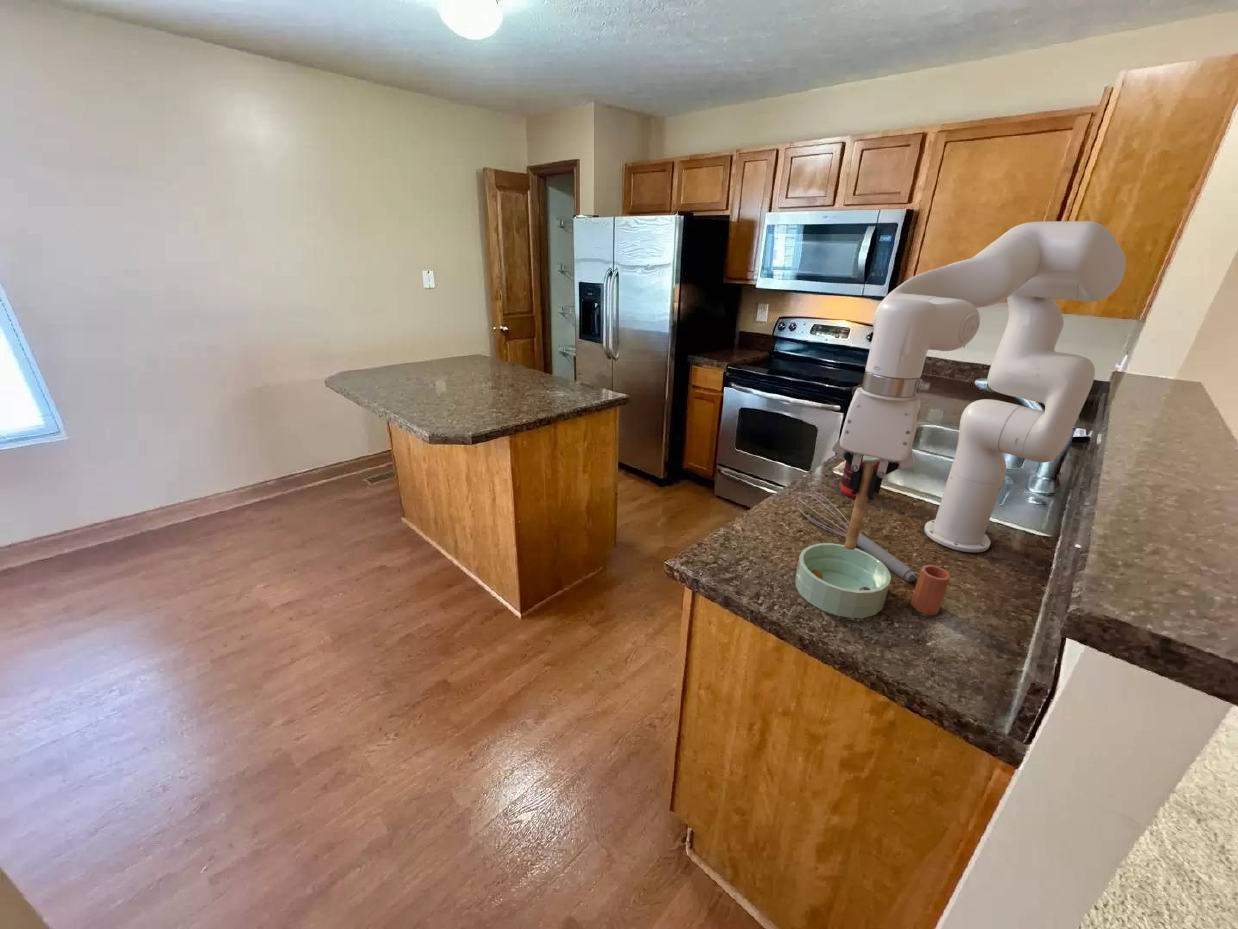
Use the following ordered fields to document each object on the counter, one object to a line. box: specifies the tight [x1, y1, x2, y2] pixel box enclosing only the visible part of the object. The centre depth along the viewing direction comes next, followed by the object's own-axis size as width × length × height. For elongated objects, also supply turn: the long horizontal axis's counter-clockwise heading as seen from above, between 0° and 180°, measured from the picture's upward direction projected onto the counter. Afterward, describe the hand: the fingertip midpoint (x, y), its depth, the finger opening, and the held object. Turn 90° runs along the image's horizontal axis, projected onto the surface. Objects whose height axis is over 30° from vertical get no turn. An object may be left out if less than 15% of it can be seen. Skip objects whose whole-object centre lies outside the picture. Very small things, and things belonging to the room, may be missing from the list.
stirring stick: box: [843, 461, 877, 550], centre depth 86 cm, size 2×2×16 cm
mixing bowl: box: [794, 542, 892, 619], centre depth 95 cm, size 15×15×6 cm
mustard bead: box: [811, 569, 823, 579], centre depth 98 cm, size 2×2×2 cm
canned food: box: [840, 455, 881, 499], centre depth 132 cm, size 8×8×11 cm
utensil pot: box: [910, 564, 952, 616], centre depth 90 cm, size 4×4×8 cm
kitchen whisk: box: [796, 491, 918, 583], centre depth 110 cm, size 6×34×6 cm, turn 23°
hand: (863, 492), depth 85 cm, fingers closed on stirring stick, 1 cm apart
